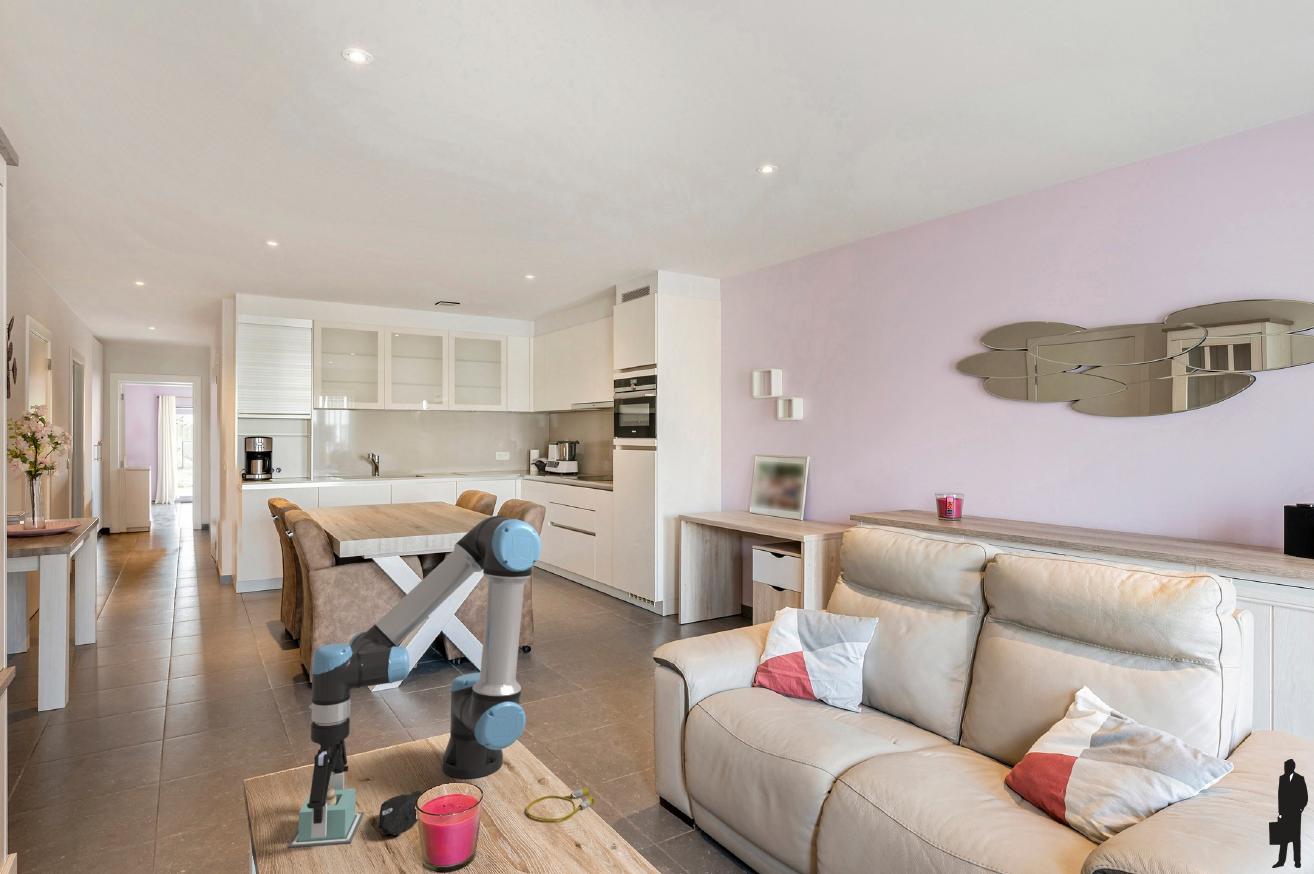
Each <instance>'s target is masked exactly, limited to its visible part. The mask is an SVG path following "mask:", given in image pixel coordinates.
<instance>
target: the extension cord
mask: <svg viewBox="0 0 1314 874" xmlns="http://www.w3.org/2000/svg"><path fill="white" fill-rule="evenodd" d="M571 793H572V794H574V795H575V796H576V797H577V798H575V797H574V796H573V795H572V794H571ZM571 793H570V795H566V796H565V795H564V796H559V795H545V796H542V797H539V798H537V799H535V800H533V801H531V802H529V804H527V805H526V809H525V812H526V814H527V817H528V818H530V819H531V820H533V821H537V822H542V823H562V822H566V821H567V820H569V819H571V818H572V817H573V816H574V815H575V813H576V812H577V811H579V810H580V811H582V810H585V809H587V808H589V807H591V806H592V805H593V804H595V798H594V797H593V796H589V794H590V792H589V788H583V789H582V788H580V789H577V790H575V791H573V792H571ZM586 796H587V798H585V799H583V800H582V802H581V803H580V804H578V807H577V808H576V804H575V802H574V800H572V799H581V798H584V797H586ZM588 796H589V797H588ZM555 798H557V799H563V800H567V801H569V802H571V803H572V805H573V811H571V812H570V813H569V814H568V815H567V814H566V815H564V816H563V817H559V818H547V817H540V816H536V815H533V814H532V813H530V812H529V810H530V808H531V807H532V806H533V805H534V804H535V803H536V804H537V803H538V802H541V801H545V800H547V799H555ZM582 803H583V804H585V805H586V807H587V808H586V807H585V806H584V805H583V804H582Z"/></svg>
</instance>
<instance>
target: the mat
mask: <svg viewBox="0 0 1314 874" xmlns="http://www.w3.org/2000/svg"><path fill="white" fill-rule="evenodd" d="M364 814H365V811H362V812H360V811H359V812H355V817H354V819H353V822H352V824H351V826H350V828H349V830H348V832H347V834H346V837H345V838H342V839H329V840H316V841H302V842H298V833H299V828H298V829H297V831H296V833H295V835H294V836H293V837H292V840H291V841H290V843H289V844H288V847H287V848H288V849H294V848H295V849H296V848H307V847H318V846H319V847H320V846H334V845H335V846H336V845H346V844H351V843H352V842H353V839H354V837H355V834H356V833H357V830H358V827H360V824H361V822H362V819H363V816H364Z"/></svg>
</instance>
